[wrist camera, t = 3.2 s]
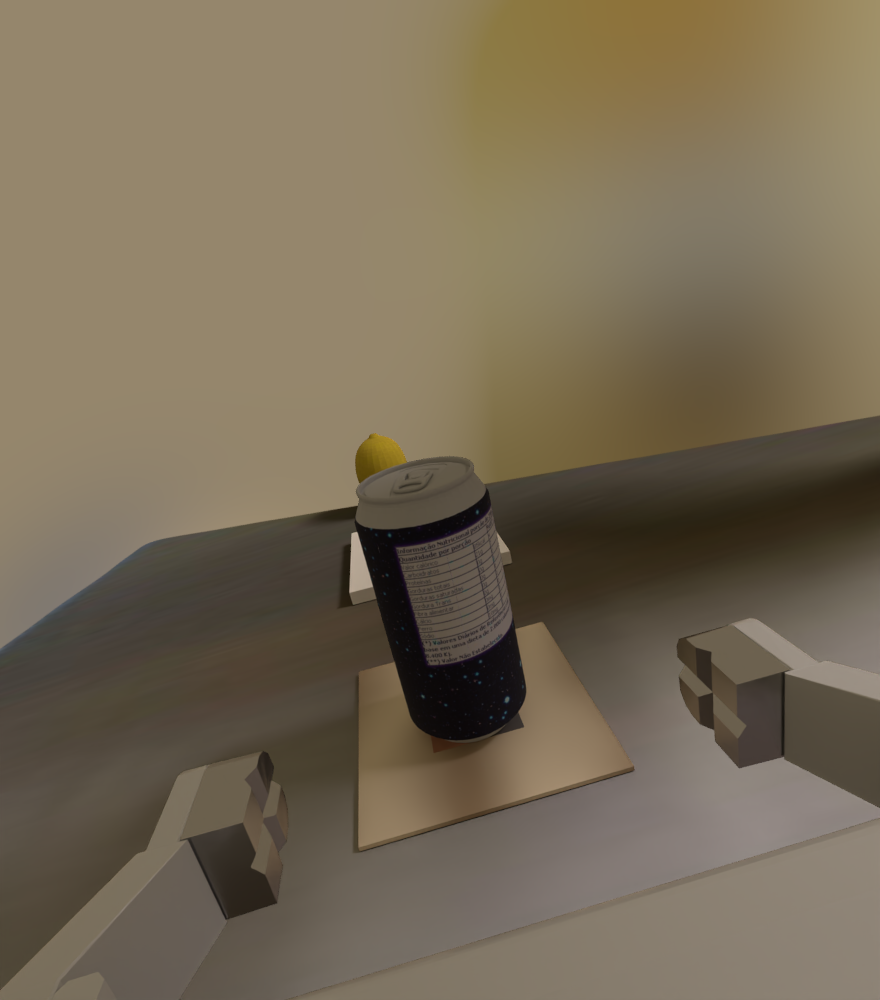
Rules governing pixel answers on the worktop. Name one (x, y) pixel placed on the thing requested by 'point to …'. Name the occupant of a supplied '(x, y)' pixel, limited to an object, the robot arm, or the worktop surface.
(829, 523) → the worktop surface
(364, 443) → the lemon
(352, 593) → the mat
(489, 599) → the beverage can
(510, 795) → the pad
